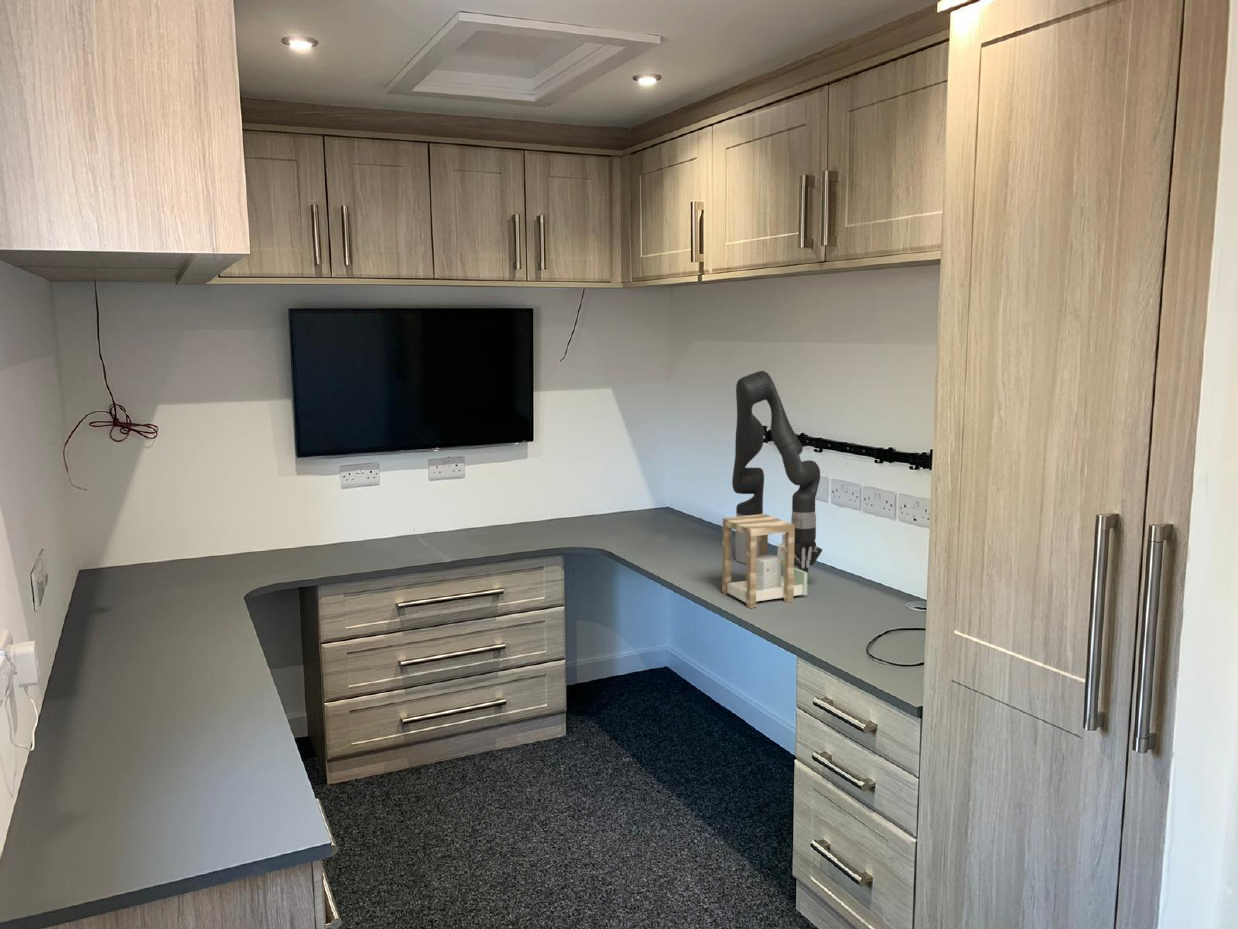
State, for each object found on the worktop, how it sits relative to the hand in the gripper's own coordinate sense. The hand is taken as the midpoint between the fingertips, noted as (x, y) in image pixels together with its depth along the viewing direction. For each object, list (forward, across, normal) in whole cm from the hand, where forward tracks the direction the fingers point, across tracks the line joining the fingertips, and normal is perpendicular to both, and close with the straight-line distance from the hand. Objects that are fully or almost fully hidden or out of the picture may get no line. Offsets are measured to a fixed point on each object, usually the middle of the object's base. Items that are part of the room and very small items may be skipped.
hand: (803, 578), depth 292 cm
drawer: (+3, -13, 0) cm, 14 cm away
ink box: (+4, +3, +12) cm, 13 cm away
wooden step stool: (+4, -17, 0) cm, 17 cm away
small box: (+2, -14, 0) cm, 14 cm away
